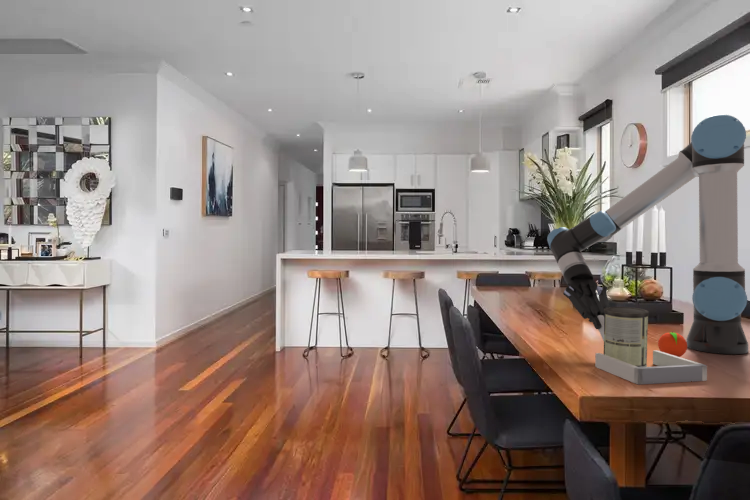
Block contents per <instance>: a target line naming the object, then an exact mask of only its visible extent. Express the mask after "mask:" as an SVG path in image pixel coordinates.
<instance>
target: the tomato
mask: <svg viewBox="0 0 750 500" xmlns="http://www.w3.org/2000/svg"><path fill="white" fill-rule="evenodd" d="M657 346H658V347H657V348H658V350H659V351H661V352H664V353H668V354H671V355H674V356H678V357H681V358H682V356H683V355H685V354H686V352H687V350H688V347H687V342H686V339H685V337H684V336H683V335H681V334H680V333H678V332H674V331H670V332H665V333H664V334H662V335H661V336H660V337H659V339H658V342H657Z"/></svg>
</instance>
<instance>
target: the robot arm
mask: <svg viewBox="0 0 750 500" xmlns="http://www.w3.org/2000/svg"><path fill="white" fill-rule="evenodd" d="M746 139H747V130H746V128H745V126H744V125H743V122H742V121H740V120H739V119H738V118H737V117H735V116H732V115H729V114H721V113H720V114H714V115H711V116H708V117H705V118H704V119H703V120H701V121H700V122H698V124H697V125H696V126H695V127H694V129H693V131H692V133H691V138H690V143H688V145H687V146H686V147H684V148H683V149H682V150H681V151H679V152H678V155H677V156H678V157H677V158H675V159H674V160H673V161H671V162H670V163H669V164H668V165H666V166H664V167H663V168H662V169H661V170H659V171H658V172H657V173H655V174H654V175H652V176H651V177H650V178H648V179H647V180H646V181H644V182H643V183H642V184H640V185H639V186H637V188H635V189H634V190H632V191H631V192H630V193H628V194H626V195H625V196H624V197H622V199H620V200H619V201H617V202H616V203H615V204H613V205H612V206H610V207H609V208H608V209H606V210H599V211H597V212H596V213H593V214H591V215H590V216H588V218H586V219H584V220H582V221H581V222H579V223H577V225H574V226H573V227H571V228H567V227H563V226H560V227H558V228H554V229H552V230H550V232H549V233H548V234H547V239H546V241H547V244H548V246H549V249H550V251H551V253H552V256H553V257H554V259H555V261H556V263H557V265H558V268H559V270H560V272H561V274H562V276H563V278H564V282H565V284H566V285H567V286H566V287H565V289H564V291H563V292H562V294H563V295H564V297H566V298H567V299H569V301H570V303H571V304H572V305H573V307H574V308H575V309H576V310H577V312H578V313H579V314H580V315H581V318H582V319H584V320H586V319H588V322H589V323H592V324H593V326H594V328H595V330H597V331H598V332H599V334H600V336H601V339H602V340H603V342H604V308H607V307H611V306H610V301H609V297H608V295H607V294H608V293H607V291H608V287H607V286H602V287H601V286H599V285H598V283H597V282H596V281H595V280H594V275H593V273H592V271H591V270H590V268H589V266H588V263H587V262H586V260H585V258H584V256H583V254H582V253H581V252H582V251H585V250H586V249H588V248H589V247H591V246H592V245H593V246H594V245H595V244H596V243H604V242H607V241H609V240H610V239H612V238H613V237H614V235H616V234H617V233H619V232H620V231H621V230H623V229H624V228H625V227H626V226H628V225H630V224H631V223H633V222H634V221H636V220H637V219H638V218H640V217H641V216H642V215H644V214H645V213H647V212H648V211H650V210H651V209H652V208H654V207H655V206H657V205H658V204H659V203H661V202H662V201H664V200H665V199H666V198H668V197H669V196H671V195H672V194H673V193H675V192H676V191H678V190H679V189H681V188H682V187H684V185H686V184H688V183H689V182H690V181H692V180H693V179H695V178H698V215H699V216H698V217H699V218H698V219H699V220H698V221H699V222H698V223H699V224H698V225H699V226H698V227H699V228H698V229H699V231H698V232H699V235H698V236H699V238H698V239H699V244H698V245H699V263H698V264H697V265H696V266H695V267H694V268H692V273H693V274H692V275H693V276H692V277H693V278H692V282H693V283H692V284H693V285H692V286H693V291H692V297H691V298H692V300H691V301H692V303H693V320H692V324H691V326H690V329H689V332H688V334H687V336H686V339H685V340H686V342H687V349H691V350H695V351H697V352H698V351H699V352H704V353H712V354H723V355H741V354H747V353H749V342H748V339H747V337H746V334H745V332H744V329H743V327H742V326H743V325H742V313H743V311H745V309H746V307H747V304H748V294H747V291H746V269H745V268H744V267H743V266H741V265H740V264H739V259H738V257H739V252H738V251H739V246H738V245H739V244H738V243H739V240H738V235H739V233H738V229H739V228H738V223H739V222H738V172H739V171H740V170H741V169H742V168H743V167H744V166H745V141H746Z"/></svg>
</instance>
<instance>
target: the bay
mask: <svg viewBox="0 0 750 500" xmlns="http://www.w3.org/2000/svg"><path fill="white" fill-rule="evenodd" d="M594 363H595V368H597V369H599V370H601V371H604V372H606V373H609V374H612V375H613V376H615V377H616V376H617V377H618V378H621V379H624V380H625V381H628V382H631V383H633V384H636V385H652V384H653V385H654V384H670V383H673V384H674V383H686V382H687V383H690V382H691V381H692V382H705V381H706V382H707V381H708V365H707V364H704V363H701V362H697V361H693V360H691V359H687V358H684V357H682V356H681V357H678V356H674V355H671V354H668V353H664V352H661V351H660V350H659V349H658V350H654V349H653V350H652V364H653V365H655V366H647V367H637V366H634V365H632V364H629V363H626V362H623V361H621V360H618V359H615V358H612V357H610V356H607V355H604V353H601V352H595V362H594Z"/></svg>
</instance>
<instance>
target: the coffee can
mask: <svg viewBox="0 0 750 500" xmlns="http://www.w3.org/2000/svg"><path fill="white" fill-rule="evenodd" d="M649 313H650V311H649V310H648V309H644V308H638V307H631V306H610V307H607V308H604V341H603V354H604V355H607V356H610V357H612V358H615V359H618V360H621V361H623V362H626V363H629V364H632V365H634V366H637V367H648V365H647V364H648V362H647V361H648V331H649V330H648V328H649V327H648V326H649Z"/></svg>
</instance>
